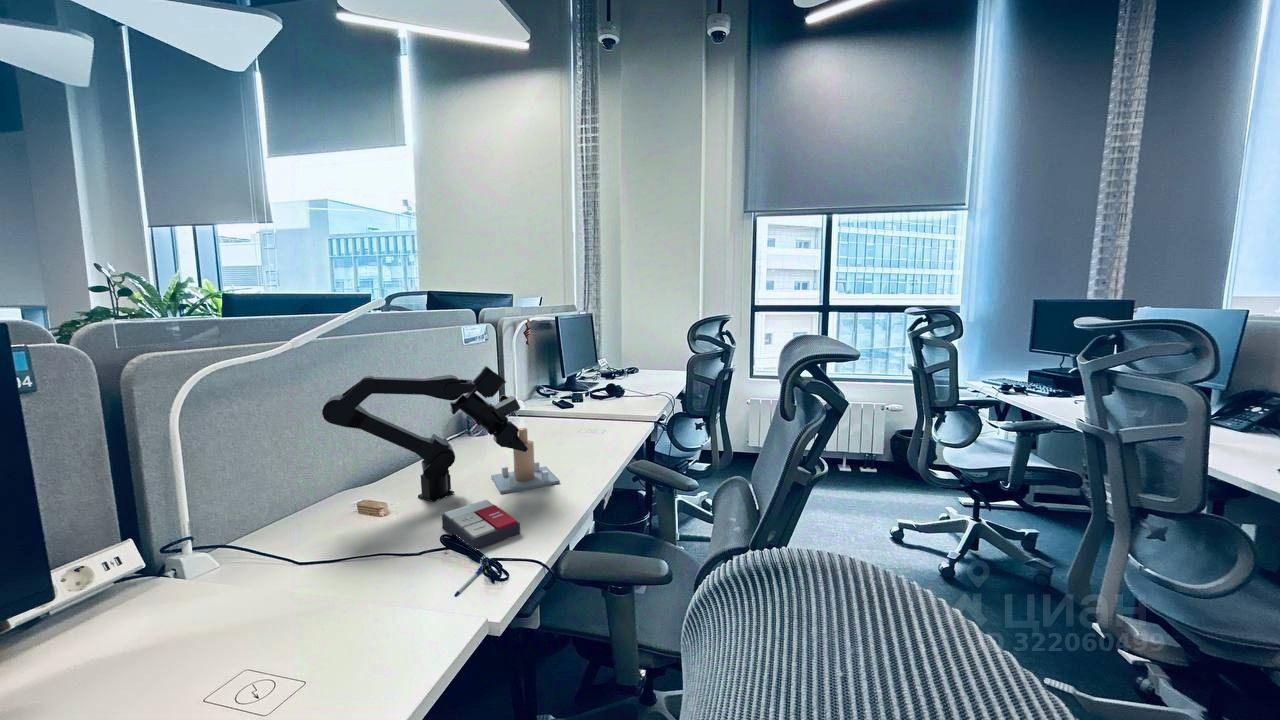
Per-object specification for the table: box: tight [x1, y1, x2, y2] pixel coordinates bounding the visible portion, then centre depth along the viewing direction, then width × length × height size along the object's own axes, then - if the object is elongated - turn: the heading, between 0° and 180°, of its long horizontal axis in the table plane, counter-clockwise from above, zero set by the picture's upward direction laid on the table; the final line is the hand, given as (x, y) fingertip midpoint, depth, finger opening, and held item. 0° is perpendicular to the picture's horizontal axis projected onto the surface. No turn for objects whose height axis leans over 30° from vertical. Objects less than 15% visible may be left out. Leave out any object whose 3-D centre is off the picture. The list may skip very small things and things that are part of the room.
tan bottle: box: [512, 427, 535, 482], centre depth 138 cm, size 6×6×14 cm
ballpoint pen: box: [453, 565, 483, 597], centre depth 90 cm, size 10×1×1 cm, turn 168°
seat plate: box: [490, 460, 561, 495], centre depth 139 cm, size 16×13×3 cm
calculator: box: [441, 499, 521, 550], centre depth 109 cm, size 11×4×15 cm
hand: (522, 445), depth 137 cm, fingers open, 9 cm apart
